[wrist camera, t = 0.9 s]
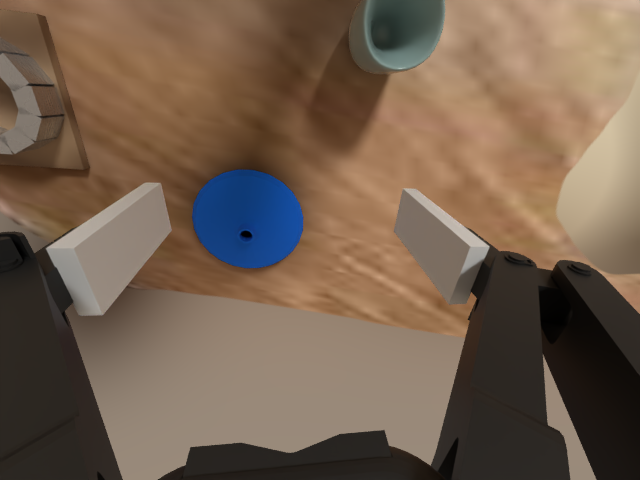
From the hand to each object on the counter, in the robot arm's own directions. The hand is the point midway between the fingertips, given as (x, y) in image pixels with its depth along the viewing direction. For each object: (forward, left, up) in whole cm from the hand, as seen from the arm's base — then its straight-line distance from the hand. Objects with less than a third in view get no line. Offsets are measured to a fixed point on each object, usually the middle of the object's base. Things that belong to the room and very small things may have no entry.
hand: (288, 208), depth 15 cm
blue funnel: (+12, -5, -26) cm, 29 cm away
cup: (-12, +10, -26) cm, 30 cm away
